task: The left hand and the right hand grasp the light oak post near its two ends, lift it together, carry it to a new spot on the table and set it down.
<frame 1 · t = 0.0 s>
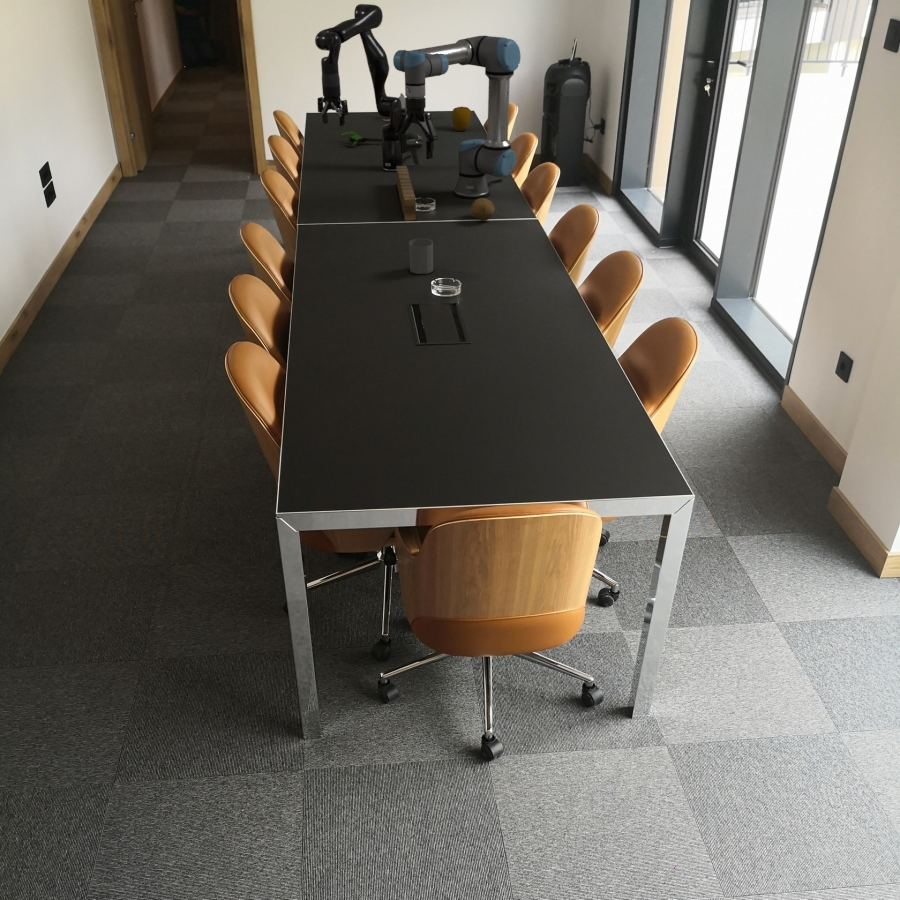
left hand: (333, 124, 373), 29 cm above the table, tool pointing down, fingers open, 8 cm apart
right hand: (416, 155, 333), 28 cm above the table, tool pointing down, fingers open, 13 cm apart
potato: (482, 219, 356), on the table
toy: (396, 123, 507), on the table
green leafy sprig: (367, 144, 463), on the table
cup: (421, 270, 308), on the table
apple: (461, 130, 491), on the table
post: (406, 201, 377), on the table
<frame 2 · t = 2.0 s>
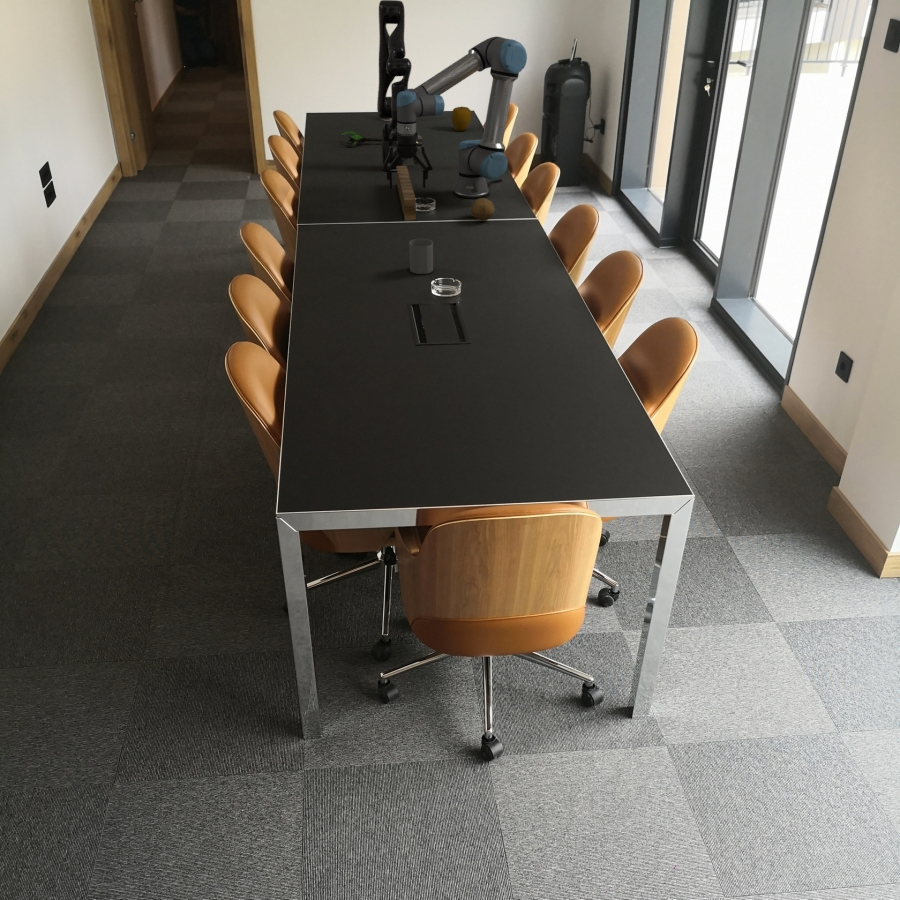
left hand: (401, 147, 382), 19 cm above the table, tool pointing down, fingers open, 8 cm apart
right hand: (407, 187, 355), 11 cm above the table, tool pointing down, fingers open, 13 cm apart
nothing on the table moved.
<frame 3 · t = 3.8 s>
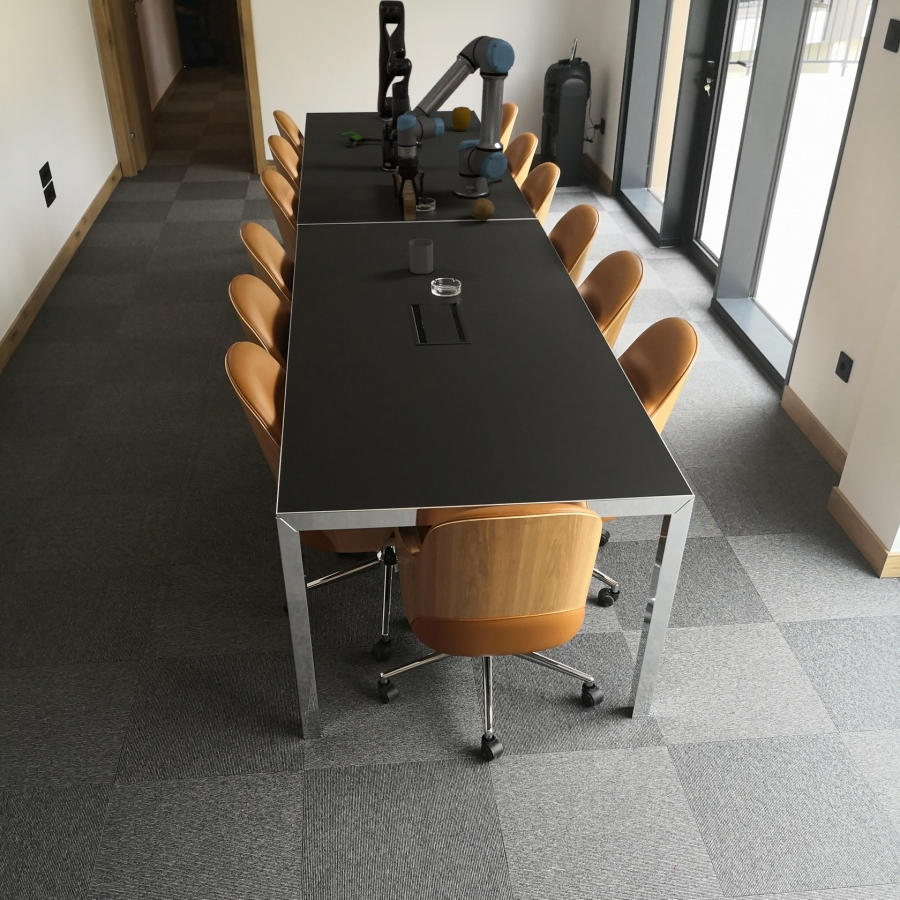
left hand: (401, 147, 382), 19 cm above the table, tool pointing down, fingers open, 8 cm apart
right hand: (409, 213, 361), 1 cm above the table, tool pointing down, fingers closed on post, 5 cm apart
post: (406, 201, 377), on the table, touching right hand
everything else where it was.
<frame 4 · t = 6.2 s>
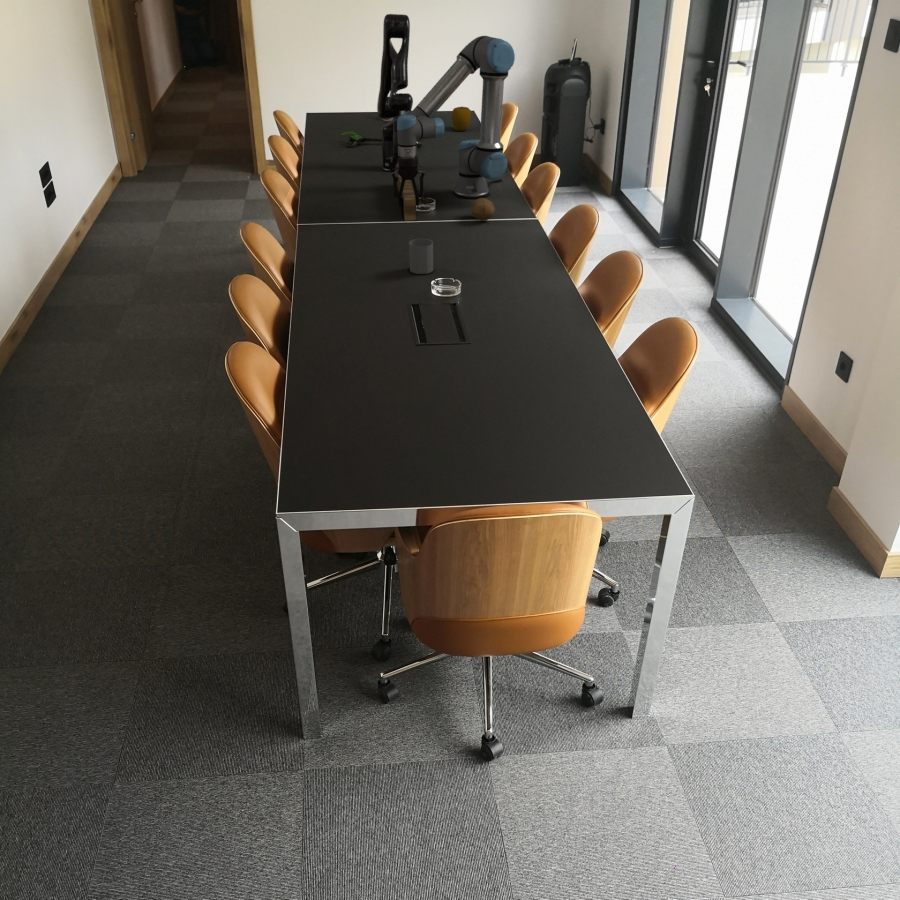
left hand: (402, 180, 390), 4 cm above the table, tool pointing down, fingers closed on post, 4 cm apart
right hand: (409, 213, 361), 1 cm above the table, tool pointing down, fingers closed on post, 5 cm apart
post: (405, 201, 377), on the table, touching left hand, right hand
everything else where it was.
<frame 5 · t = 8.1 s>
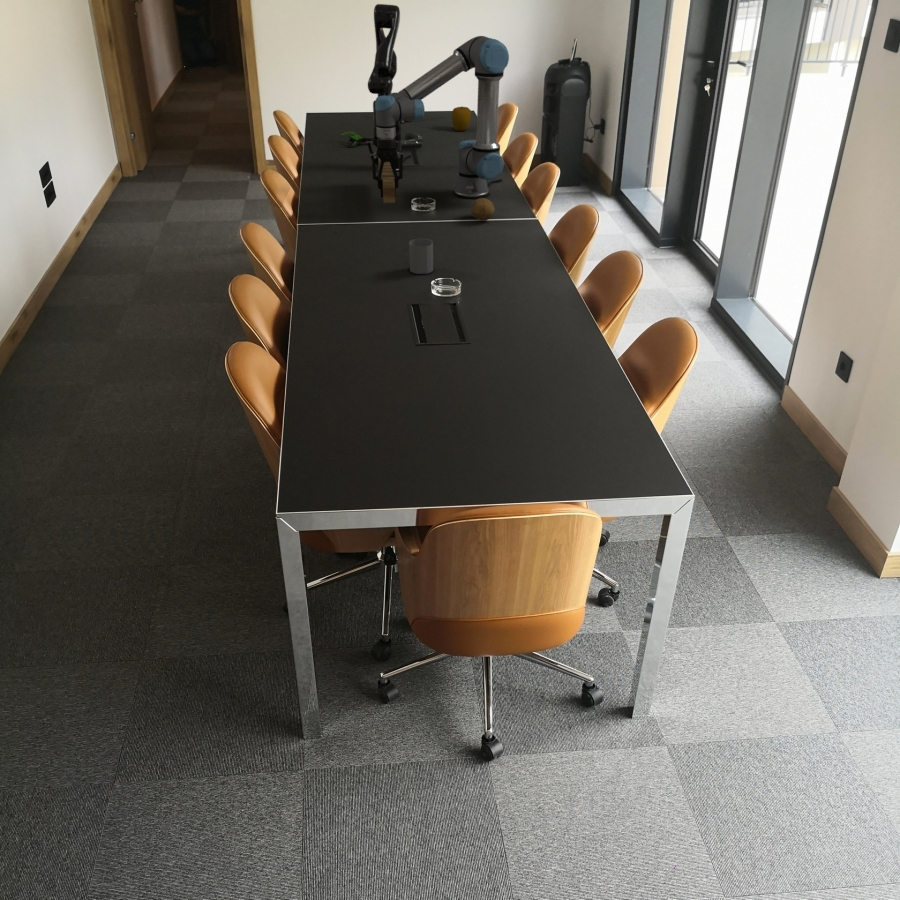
left hand: (383, 165, 387), 11 cm above the table, tool pointing down, fingers closed on post, 4 cm apart
right hand: (388, 196, 358), 8 cm above the table, tool pointing down, fingers closed on post, 5 cm apart
post: (386, 185, 374), point 7 cm above the table, touching left hand, right hand
everything else where it was.
when the right hand's fingers open (2 cm above the table, at t = 9.8 s): post drops 2 cm, on the table.
when the left hand's fingers open (6 cm above the table, at t = 10.0 s): post stays where it is, on the table.
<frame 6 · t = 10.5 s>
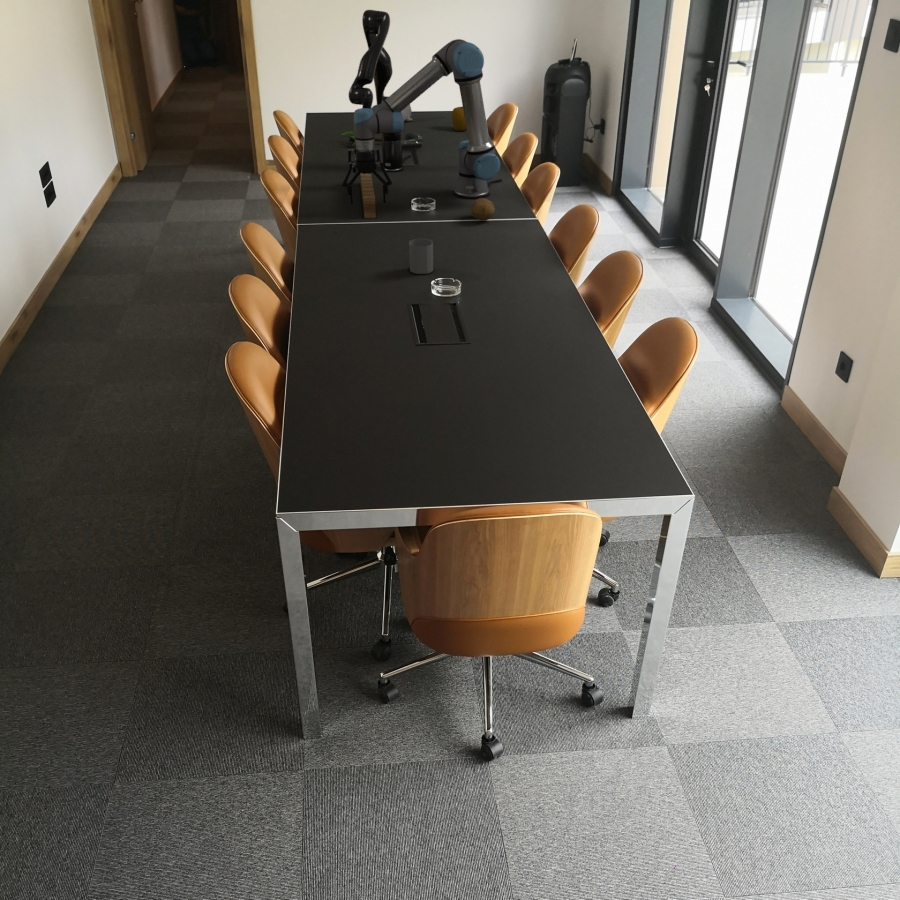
left hand: (364, 173, 390), 7 cm above the table, tool pointing down, fingers open, 8 cm apart
right hand: (368, 202, 360), 5 cm above the table, tool pointing down, fingers open, 13 cm apart
post: (367, 200, 379), on the table
everything else where it was.
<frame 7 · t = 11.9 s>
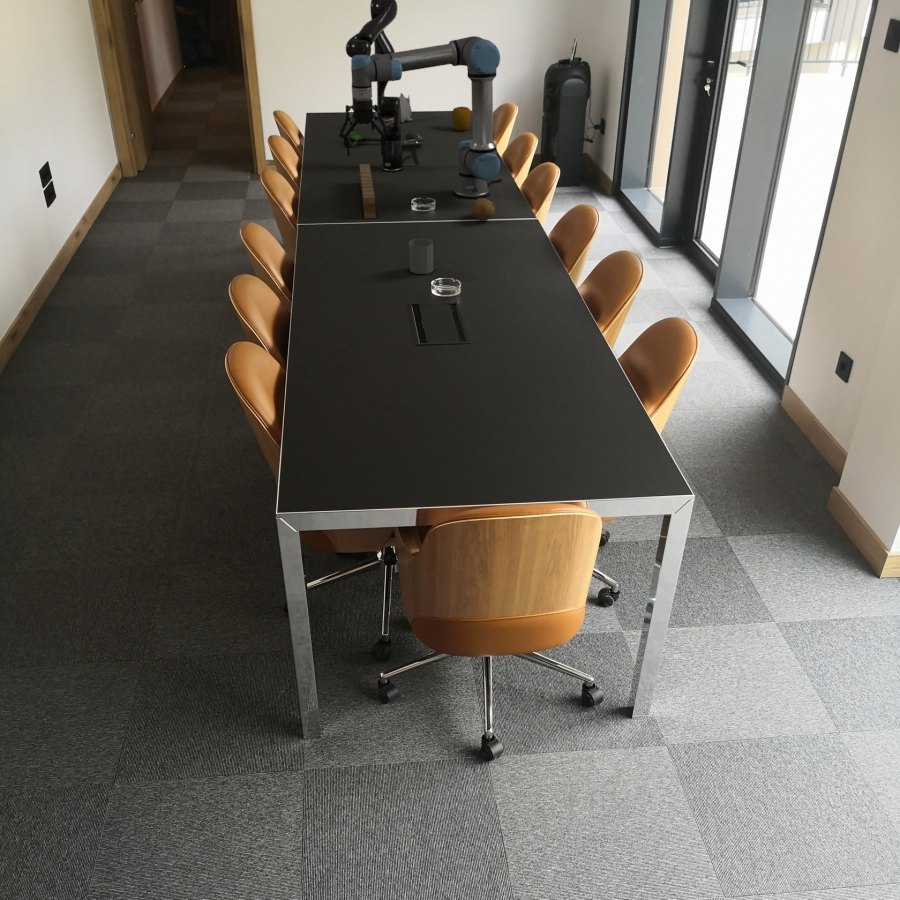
left hand: (362, 130, 380), 25 cm above the table, tool pointing down, fingers open, 8 cm apart
right hand: (365, 154, 350), 24 cm above the table, tool pointing down, fingers open, 13 cm apart
nothing on the table moved.
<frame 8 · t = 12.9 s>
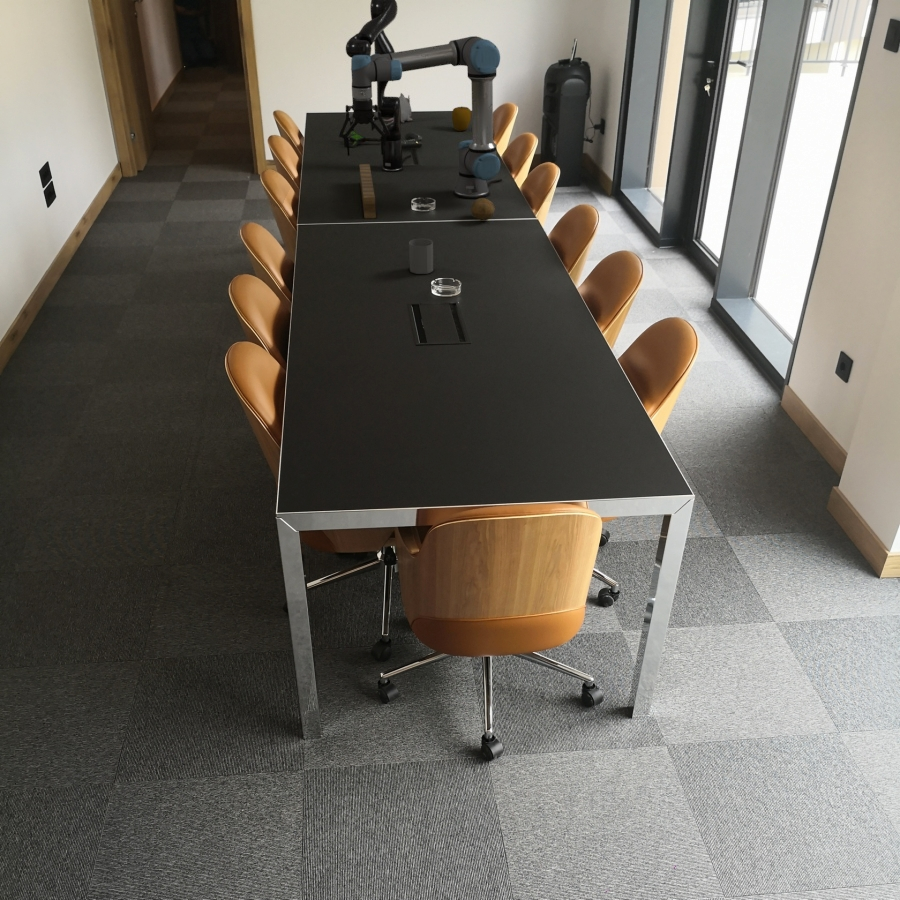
left hand: (362, 130, 380), 25 cm above the table, tool pointing down, fingers open, 8 cm apart
right hand: (365, 154, 350), 24 cm above the table, tool pointing down, fingers open, 13 cm apart
nothing on the table moved.
at the end: post inside the target area (0.9 cm from its centre), on the table; post tilted 0°; post never tilted more than 2° during the clip; both hands held the post at the same time; the left hand is holding nothing; the right hand is holding nothing; post at rest at the end (0.0 cm/s) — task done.
